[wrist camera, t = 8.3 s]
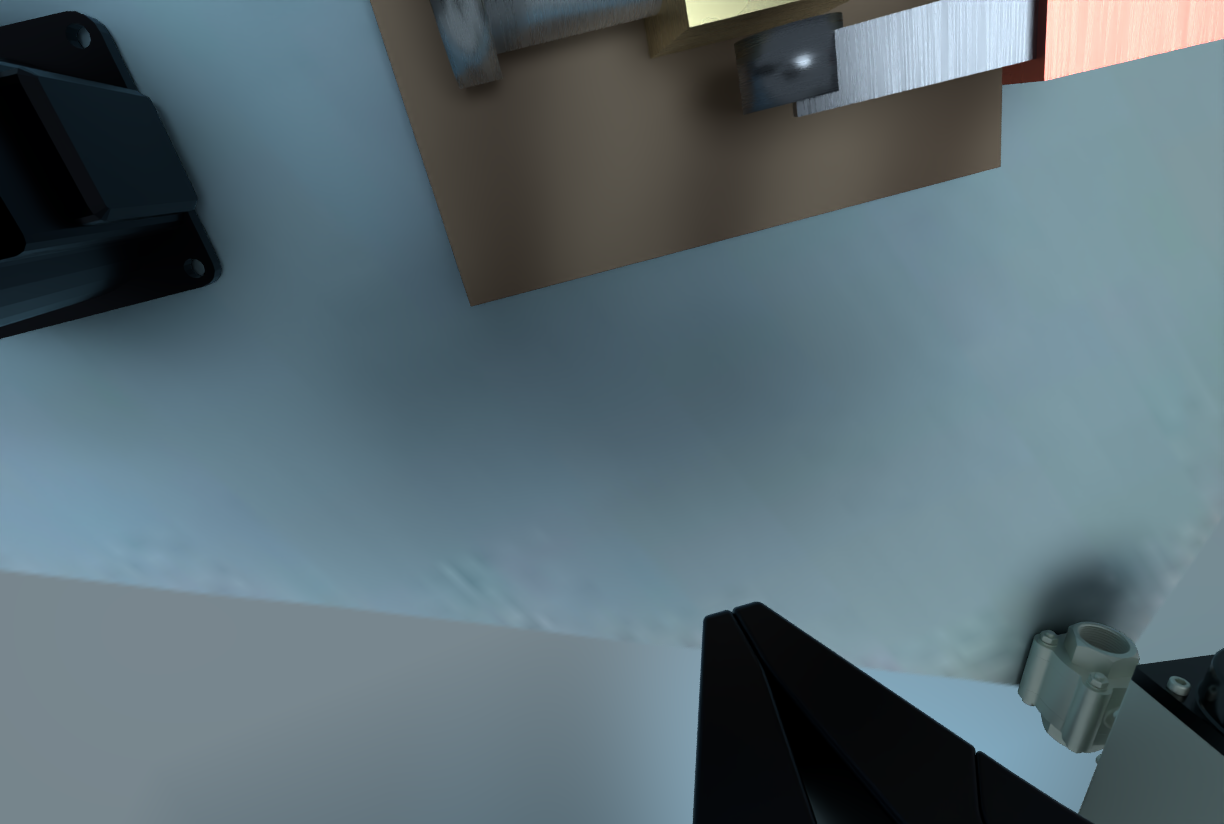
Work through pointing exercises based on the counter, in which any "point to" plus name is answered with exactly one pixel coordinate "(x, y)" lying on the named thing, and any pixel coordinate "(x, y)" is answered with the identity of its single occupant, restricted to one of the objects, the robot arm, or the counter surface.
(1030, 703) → the pneumatic valve
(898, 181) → the mounting board
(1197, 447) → the counter surface
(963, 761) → the robot arm
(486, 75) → the valve body
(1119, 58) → the lever
